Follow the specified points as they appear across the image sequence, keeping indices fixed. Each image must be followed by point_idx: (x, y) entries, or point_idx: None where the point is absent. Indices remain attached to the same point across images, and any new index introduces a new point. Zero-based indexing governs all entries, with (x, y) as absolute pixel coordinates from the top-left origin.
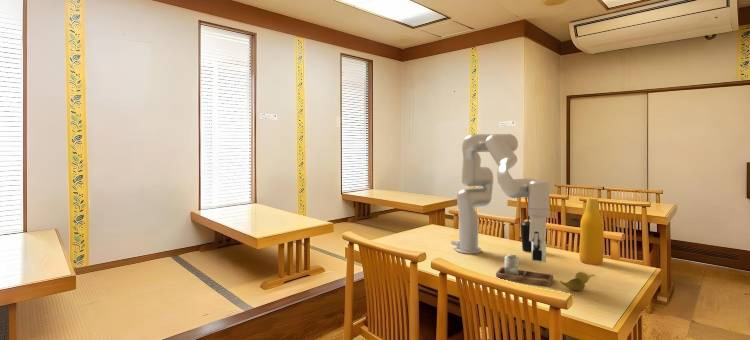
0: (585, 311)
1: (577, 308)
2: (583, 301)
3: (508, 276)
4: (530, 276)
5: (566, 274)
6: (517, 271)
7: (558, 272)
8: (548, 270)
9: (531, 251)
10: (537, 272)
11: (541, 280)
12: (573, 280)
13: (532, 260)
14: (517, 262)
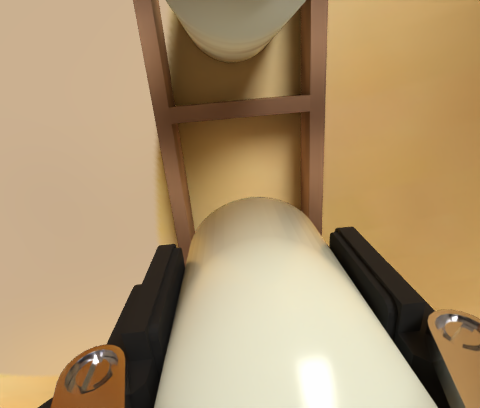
0: (12, 400)
1: (17, 380)
2: None
3: (136, 2)
4: (301, 131)
5: (428, 280)
6: (222, 55)
7: (449, 244)
8: (471, 193)
9: (236, 251)
10: (319, 179)
11: (177, 234)
12: None
13: (204, 221)
14: (219, 42)
